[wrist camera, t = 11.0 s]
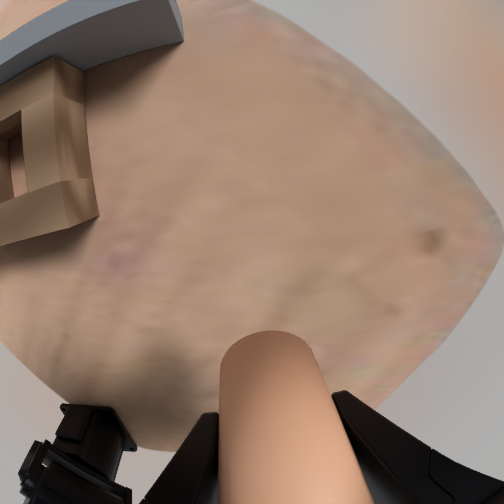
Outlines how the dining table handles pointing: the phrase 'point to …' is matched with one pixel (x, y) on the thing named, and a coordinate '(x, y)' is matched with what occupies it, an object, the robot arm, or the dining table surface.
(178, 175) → the dining table surface
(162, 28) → the bar
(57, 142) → the block
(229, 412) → the dowel
